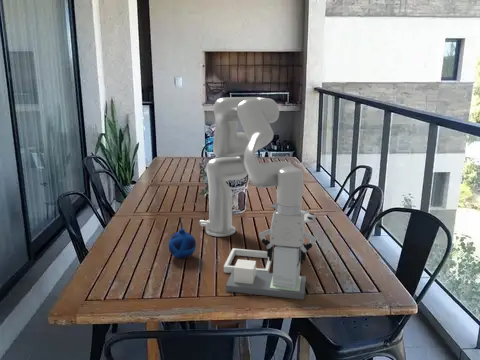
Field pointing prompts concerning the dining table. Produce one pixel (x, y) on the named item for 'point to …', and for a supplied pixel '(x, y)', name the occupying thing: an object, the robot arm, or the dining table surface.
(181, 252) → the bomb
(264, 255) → the white square frame
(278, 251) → the supplement box
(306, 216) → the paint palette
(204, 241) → the dining table surface
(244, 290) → the grey base with cube
